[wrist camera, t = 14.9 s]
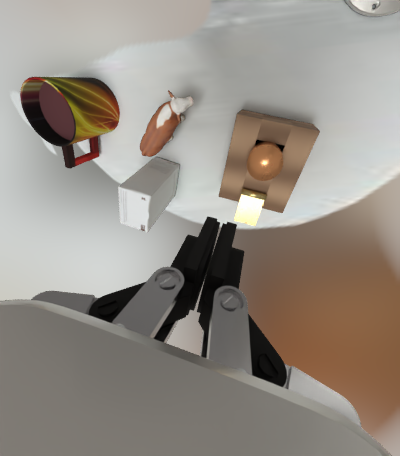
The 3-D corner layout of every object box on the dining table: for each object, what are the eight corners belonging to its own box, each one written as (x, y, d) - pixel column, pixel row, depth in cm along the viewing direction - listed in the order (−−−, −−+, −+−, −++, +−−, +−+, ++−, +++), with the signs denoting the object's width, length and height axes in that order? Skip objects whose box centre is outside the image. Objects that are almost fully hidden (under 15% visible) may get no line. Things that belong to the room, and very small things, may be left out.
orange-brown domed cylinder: (255, 131, 37) (252, 142, 30) (285, 137, 36) (289, 150, 29) (247, 160, 40) (242, 176, 33) (274, 166, 39) (275, 184, 32)
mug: (99, 155, 49) (58, 173, 39) (68, 84, 41) (8, 86, 32) (134, 149, 45) (98, 167, 36) (106, 71, 38) (52, 68, 29)
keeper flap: (242, 187, 37) (241, 189, 36) (267, 193, 36) (267, 195, 35) (233, 217, 40) (233, 219, 39) (256, 223, 40) (256, 226, 38)
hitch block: (241, 109, 36) (237, 114, 31) (313, 124, 34) (319, 131, 29) (224, 184, 44) (218, 196, 39) (281, 198, 43) (282, 213, 38)
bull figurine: (206, 101, 37) (192, 106, 30) (162, 153, 44) (144, 165, 38) (189, 80, 35) (171, 80, 29) (147, 137, 43) (125, 146, 37)
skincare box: (156, 155, 45) (115, 182, 33) (182, 164, 44) (150, 194, 33) (152, 190, 50) (116, 223, 38) (176, 198, 49) (147, 234, 38)
